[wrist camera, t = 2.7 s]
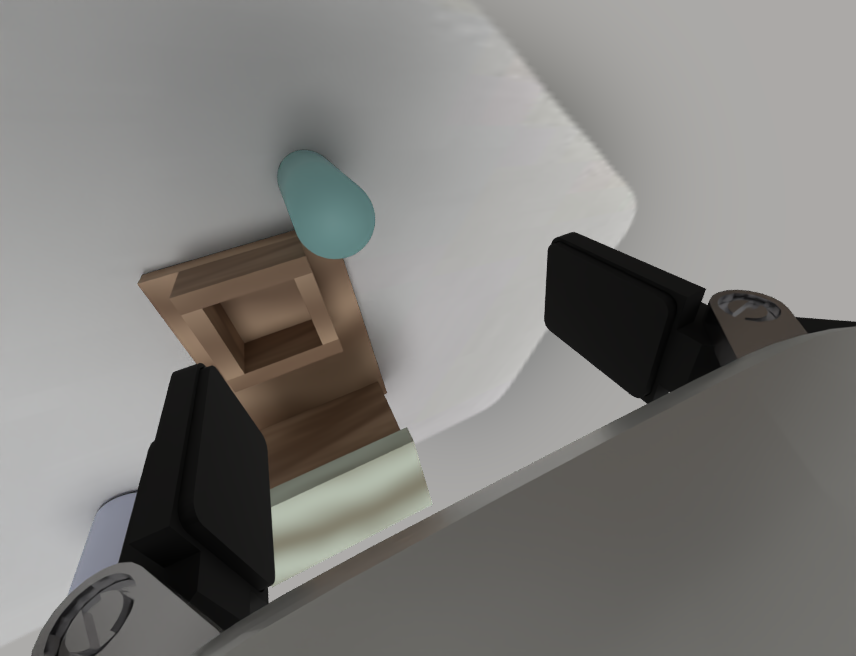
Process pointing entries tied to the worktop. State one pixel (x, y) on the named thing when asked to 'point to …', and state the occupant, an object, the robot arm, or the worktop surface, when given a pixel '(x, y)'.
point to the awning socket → (299, 390)
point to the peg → (325, 205)
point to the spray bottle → (105, 538)
